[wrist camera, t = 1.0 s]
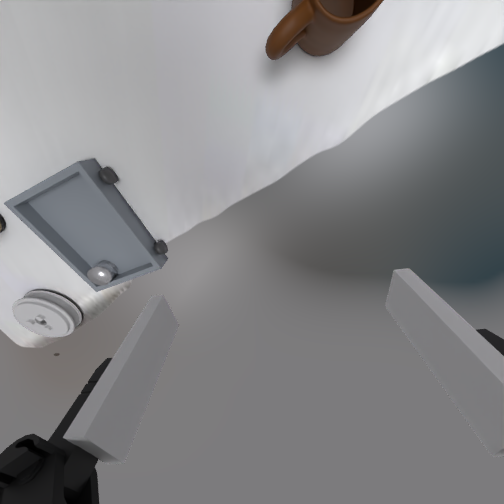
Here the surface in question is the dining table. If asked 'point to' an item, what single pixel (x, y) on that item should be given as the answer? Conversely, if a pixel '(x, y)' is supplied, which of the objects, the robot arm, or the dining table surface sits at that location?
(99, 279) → the metal part
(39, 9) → the dining table surface
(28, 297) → the lid
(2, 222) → the pill bottle
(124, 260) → the cart
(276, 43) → the mug
